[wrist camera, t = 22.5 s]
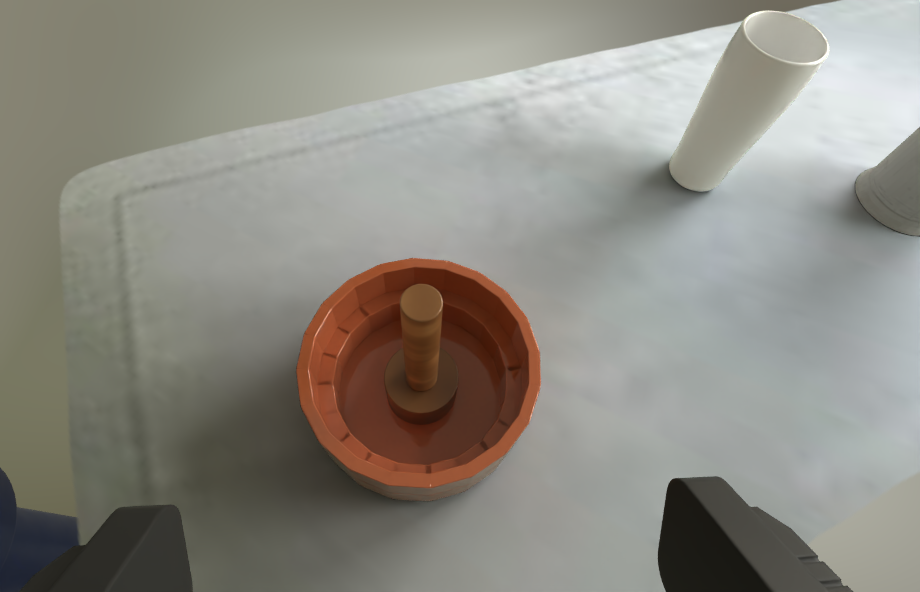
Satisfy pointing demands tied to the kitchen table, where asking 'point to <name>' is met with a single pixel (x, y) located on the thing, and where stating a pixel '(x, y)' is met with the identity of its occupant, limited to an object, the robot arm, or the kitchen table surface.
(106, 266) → the kitchen table surface
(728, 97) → the drinking glass
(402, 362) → the wooden knob stand
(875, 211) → the pitcher
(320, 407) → the bowl
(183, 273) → the kitchen table surface
